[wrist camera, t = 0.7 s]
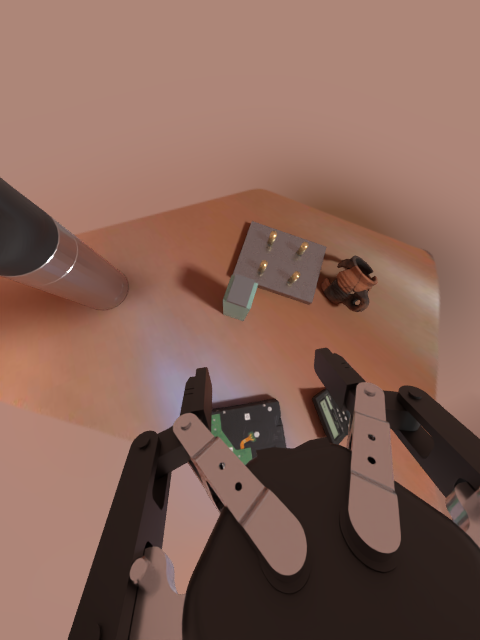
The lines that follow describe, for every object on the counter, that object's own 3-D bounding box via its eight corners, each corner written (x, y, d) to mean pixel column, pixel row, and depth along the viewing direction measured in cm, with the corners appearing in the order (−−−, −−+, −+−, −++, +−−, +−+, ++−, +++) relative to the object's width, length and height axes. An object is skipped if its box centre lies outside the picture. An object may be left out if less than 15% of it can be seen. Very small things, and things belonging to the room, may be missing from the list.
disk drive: (274, 396, 39) (202, 410, 38) (278, 399, 37) (200, 414, 35) (284, 451, 38) (208, 468, 36) (289, 459, 35) (207, 478, 33)
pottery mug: (312, 274, 45) (343, 247, 39) (336, 279, 50) (367, 257, 43) (333, 320, 40) (372, 298, 34) (358, 321, 45) (396, 302, 39)
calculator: (374, 419, 40) (386, 425, 37) (324, 442, 38) (333, 449, 35) (355, 375, 41) (365, 377, 38) (307, 395, 40) (313, 399, 37)
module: (223, 314, 41) (222, 299, 29) (230, 294, 42) (232, 272, 30) (243, 321, 41) (250, 308, 29) (249, 301, 42) (259, 281, 30)
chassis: (232, 278, 42) (233, 269, 38) (250, 225, 45) (253, 211, 41) (308, 304, 43) (318, 298, 38) (323, 250, 45) (333, 239, 41)
